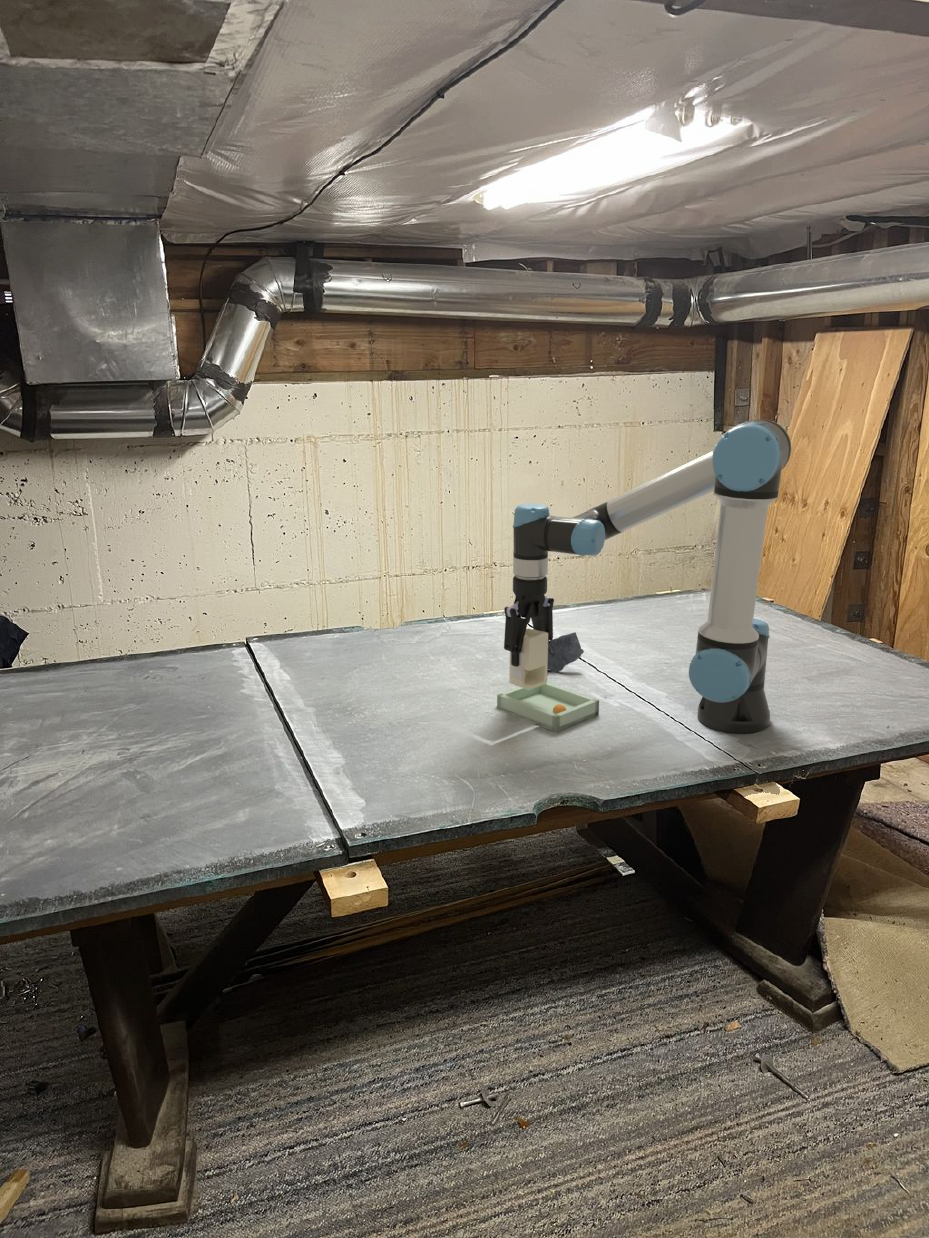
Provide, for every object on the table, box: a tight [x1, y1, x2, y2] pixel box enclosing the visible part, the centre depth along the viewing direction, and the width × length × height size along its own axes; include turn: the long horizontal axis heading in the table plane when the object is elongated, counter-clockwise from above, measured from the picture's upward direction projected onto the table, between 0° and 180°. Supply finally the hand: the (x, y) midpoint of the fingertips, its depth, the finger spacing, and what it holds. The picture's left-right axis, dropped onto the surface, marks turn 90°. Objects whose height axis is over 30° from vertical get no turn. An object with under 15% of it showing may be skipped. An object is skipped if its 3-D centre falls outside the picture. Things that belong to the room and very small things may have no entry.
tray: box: [496, 681, 600, 733], centre depth 201 cm, size 18×14×4 cm
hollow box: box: [508, 626, 548, 690], centre depth 201 cm, size 6×6×12 cm
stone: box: [547, 632, 585, 674], centre depth 226 cm, size 14×6×10 cm, turn 113°
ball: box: [553, 704, 566, 714], centre depth 195 cm, size 3×3×3 cm
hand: (528, 675), depth 202 cm, fingers closed on hollow box, 6 cm apart
